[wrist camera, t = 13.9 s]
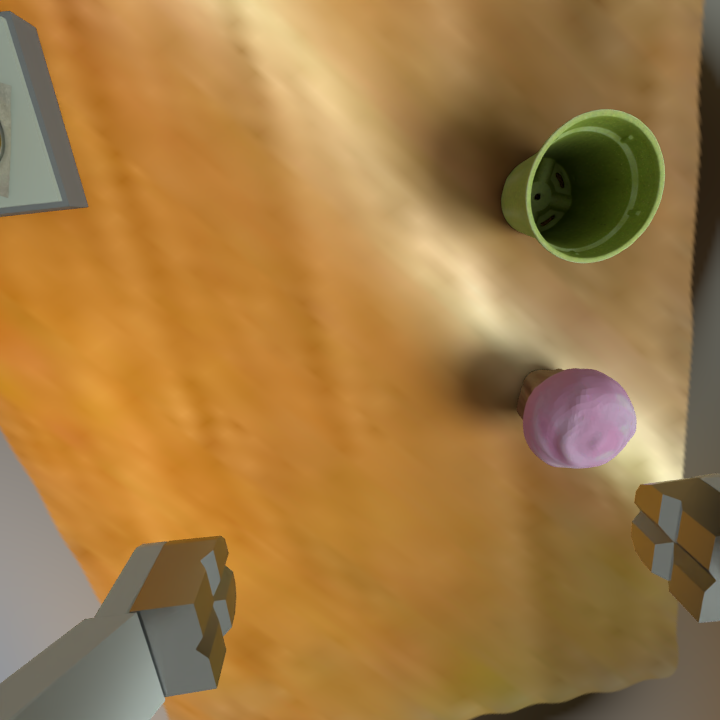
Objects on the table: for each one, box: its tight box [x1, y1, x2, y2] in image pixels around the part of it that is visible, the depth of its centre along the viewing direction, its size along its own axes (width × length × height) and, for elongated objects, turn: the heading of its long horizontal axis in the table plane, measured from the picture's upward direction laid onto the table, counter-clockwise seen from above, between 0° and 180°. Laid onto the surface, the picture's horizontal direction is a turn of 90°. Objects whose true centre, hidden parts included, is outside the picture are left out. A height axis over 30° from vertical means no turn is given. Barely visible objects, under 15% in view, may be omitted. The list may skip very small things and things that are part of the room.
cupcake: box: [517, 368, 636, 468], centre depth 37 cm, size 9×9×10 cm
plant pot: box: [501, 109, 665, 263], centre depth 32 cm, size 9×9×9 cm
